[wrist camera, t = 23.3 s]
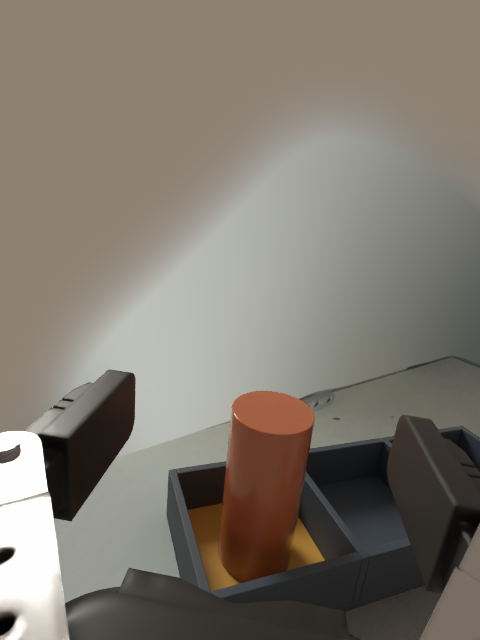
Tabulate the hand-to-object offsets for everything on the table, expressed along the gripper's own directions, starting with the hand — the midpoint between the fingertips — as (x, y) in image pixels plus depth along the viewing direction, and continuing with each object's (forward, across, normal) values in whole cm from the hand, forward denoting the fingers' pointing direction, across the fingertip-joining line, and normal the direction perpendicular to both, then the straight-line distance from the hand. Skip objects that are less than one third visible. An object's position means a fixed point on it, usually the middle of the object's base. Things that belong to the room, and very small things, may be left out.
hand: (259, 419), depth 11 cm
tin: (+12, -1, +19) cm, 23 cm away
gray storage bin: (+17, -10, +19) cm, 28 cm away
